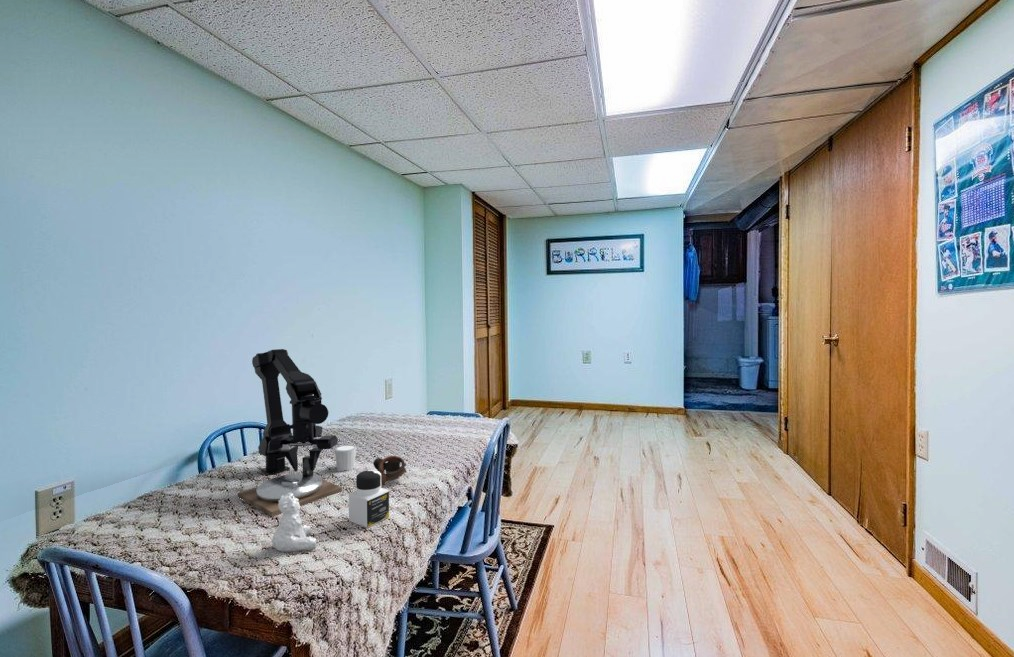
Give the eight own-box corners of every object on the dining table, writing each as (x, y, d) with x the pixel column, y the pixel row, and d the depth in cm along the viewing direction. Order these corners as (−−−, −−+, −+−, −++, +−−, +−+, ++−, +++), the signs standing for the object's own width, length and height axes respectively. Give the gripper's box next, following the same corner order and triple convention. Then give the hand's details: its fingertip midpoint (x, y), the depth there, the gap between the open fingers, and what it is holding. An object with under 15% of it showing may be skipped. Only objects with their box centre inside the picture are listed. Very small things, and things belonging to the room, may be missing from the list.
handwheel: (241, 497, 121) (241, 472, 120) (289, 475, 137) (288, 453, 137) (292, 505, 116) (291, 479, 115) (334, 481, 132) (334, 458, 132)
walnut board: (237, 497, 124) (237, 493, 124) (305, 476, 140) (305, 472, 140) (272, 516, 112) (272, 512, 112) (341, 491, 128) (341, 487, 128)
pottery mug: (413, 475, 143) (412, 458, 138) (396, 498, 135) (395, 480, 131) (381, 462, 146) (380, 445, 141) (363, 484, 138) (361, 466, 134)
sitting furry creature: (318, 549, 97) (318, 495, 97) (275, 561, 92) (274, 505, 92) (309, 531, 105) (309, 482, 104) (268, 542, 100) (268, 490, 99)
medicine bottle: (367, 528, 106) (367, 479, 106) (348, 521, 110) (347, 474, 110) (389, 517, 112) (389, 471, 112) (370, 510, 116) (370, 465, 116)
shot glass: (342, 473, 143) (342, 452, 142) (330, 468, 147) (330, 448, 147) (360, 467, 148) (360, 447, 148) (349, 463, 152) (348, 443, 152)
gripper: (343, 413, 140) (345, 461, 140) (286, 414, 140) (287, 462, 141) (329, 421, 129) (330, 473, 129) (266, 422, 129) (268, 475, 130)
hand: (304, 470), depth 132 cm, fingers open, 5 cm apart
